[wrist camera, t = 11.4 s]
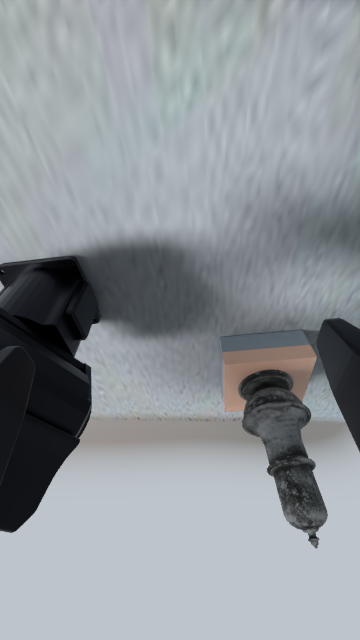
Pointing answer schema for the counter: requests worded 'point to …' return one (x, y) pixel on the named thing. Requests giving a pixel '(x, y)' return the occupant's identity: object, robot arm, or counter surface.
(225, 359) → the peach and grey block
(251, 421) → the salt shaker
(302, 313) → the counter surface
